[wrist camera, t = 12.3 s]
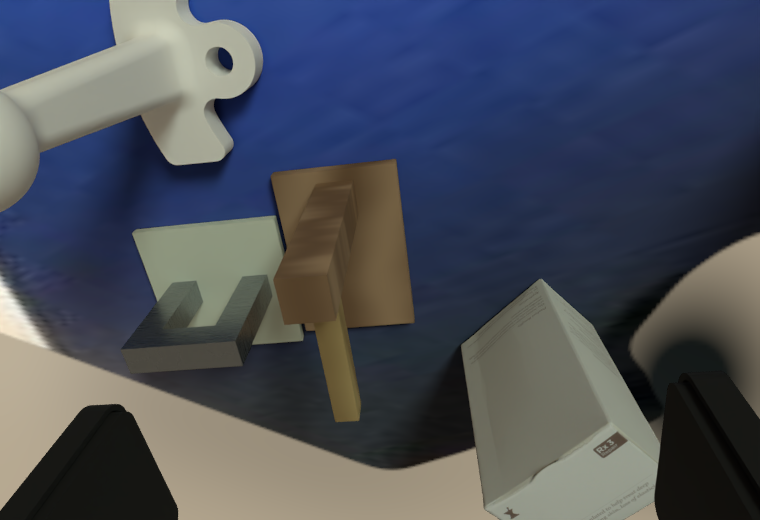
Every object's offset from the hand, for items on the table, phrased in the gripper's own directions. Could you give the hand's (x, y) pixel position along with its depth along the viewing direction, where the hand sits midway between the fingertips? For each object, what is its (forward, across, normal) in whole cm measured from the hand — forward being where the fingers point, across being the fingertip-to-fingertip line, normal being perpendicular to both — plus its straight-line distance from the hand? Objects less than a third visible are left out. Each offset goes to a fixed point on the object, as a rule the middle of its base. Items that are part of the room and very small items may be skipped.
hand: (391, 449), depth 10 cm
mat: (+26, +16, +10) cm, 32 cm away
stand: (+26, +6, +9) cm, 28 cm away
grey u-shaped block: (+25, +16, +10) cm, 31 cm away
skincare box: (+27, -6, +17) cm, 32 cm away
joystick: (+26, +13, -5) cm, 29 cm away
